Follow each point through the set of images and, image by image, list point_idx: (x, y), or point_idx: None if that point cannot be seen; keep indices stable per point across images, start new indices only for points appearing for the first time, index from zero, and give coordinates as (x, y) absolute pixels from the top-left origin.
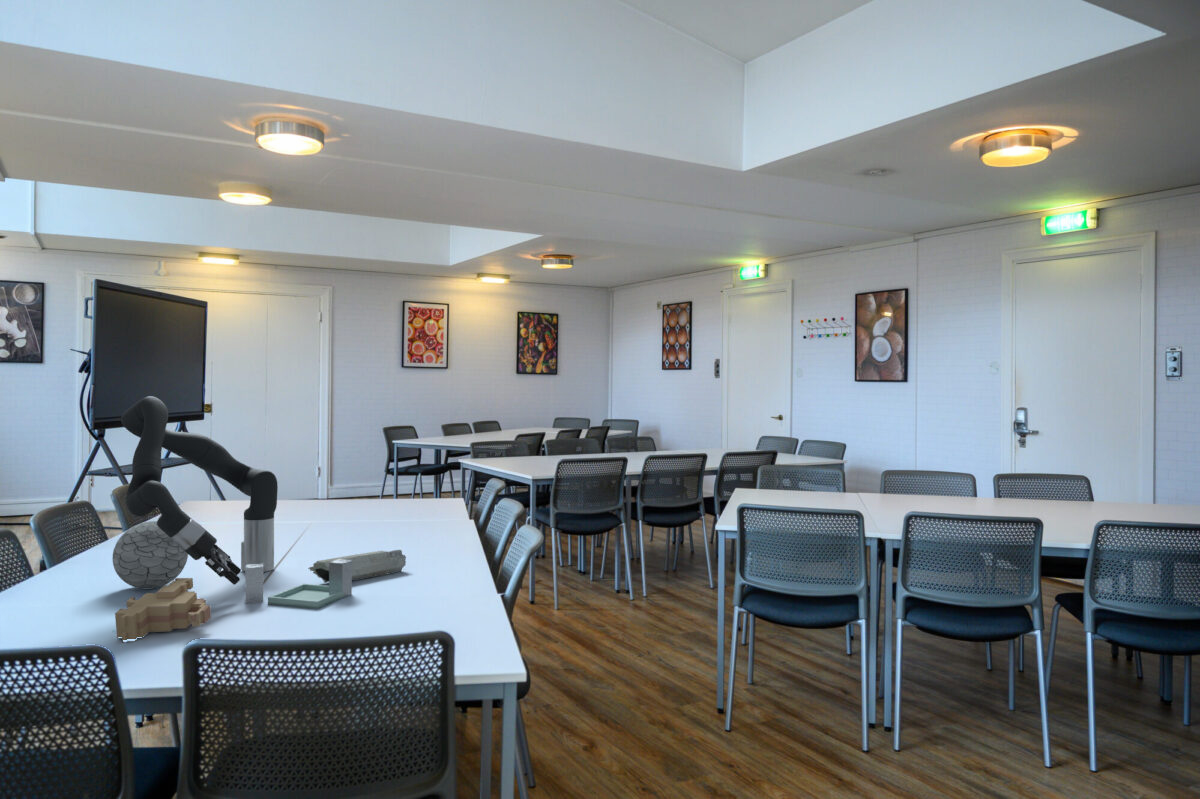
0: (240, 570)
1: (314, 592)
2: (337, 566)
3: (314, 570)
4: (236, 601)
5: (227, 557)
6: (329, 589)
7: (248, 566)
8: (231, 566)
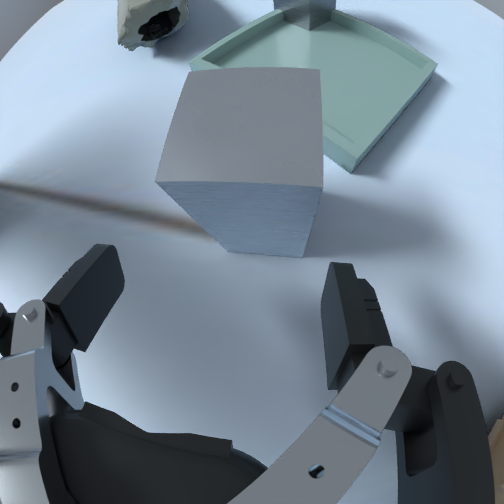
0: (111, 247)
1: (265, 49)
2: None
3: (134, 35)
4: (242, 293)
5: (37, 356)
6: (310, 19)
7: (250, 158)
8: (81, 309)
